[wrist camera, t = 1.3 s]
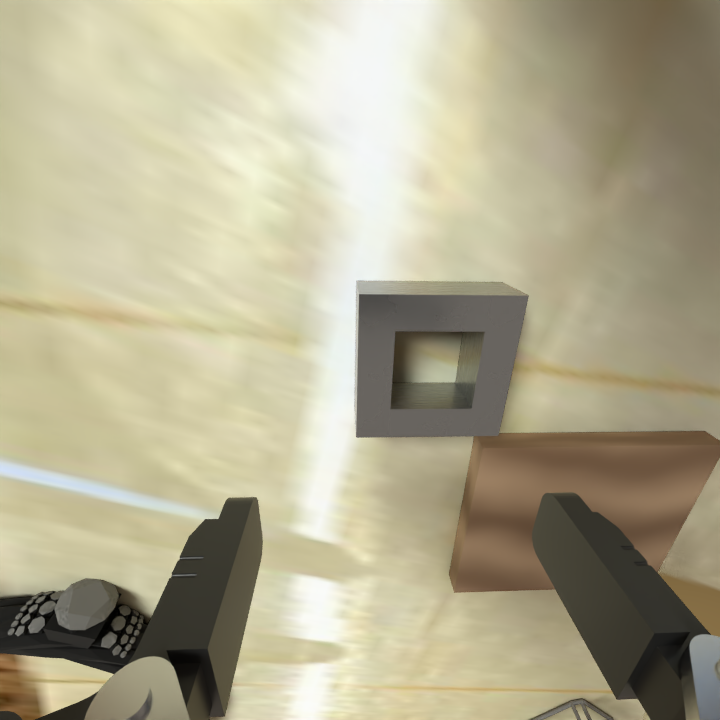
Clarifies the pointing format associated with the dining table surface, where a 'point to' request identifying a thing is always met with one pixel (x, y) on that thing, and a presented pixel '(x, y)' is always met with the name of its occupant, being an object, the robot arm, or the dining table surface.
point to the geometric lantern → (572, 704)
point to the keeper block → (578, 475)
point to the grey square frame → (475, 367)
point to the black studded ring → (73, 626)
